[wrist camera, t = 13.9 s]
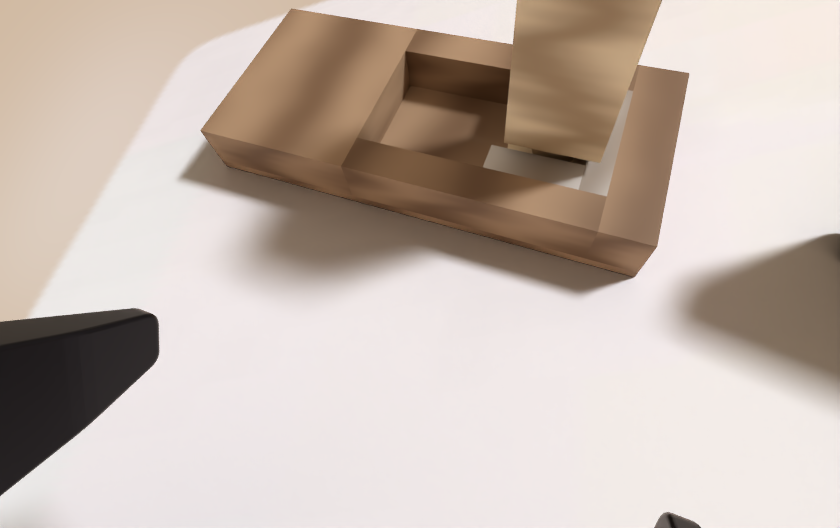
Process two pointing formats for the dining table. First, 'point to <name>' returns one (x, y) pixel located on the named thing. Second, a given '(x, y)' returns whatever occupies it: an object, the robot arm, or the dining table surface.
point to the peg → (572, 73)
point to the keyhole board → (445, 138)
